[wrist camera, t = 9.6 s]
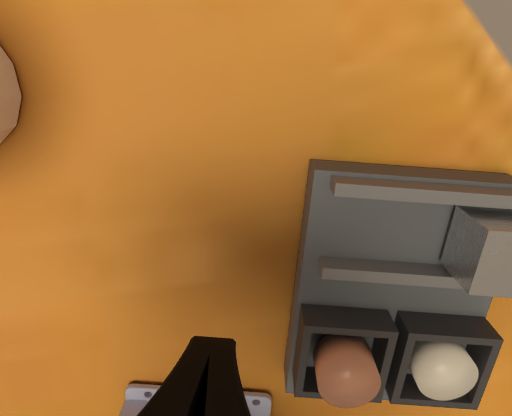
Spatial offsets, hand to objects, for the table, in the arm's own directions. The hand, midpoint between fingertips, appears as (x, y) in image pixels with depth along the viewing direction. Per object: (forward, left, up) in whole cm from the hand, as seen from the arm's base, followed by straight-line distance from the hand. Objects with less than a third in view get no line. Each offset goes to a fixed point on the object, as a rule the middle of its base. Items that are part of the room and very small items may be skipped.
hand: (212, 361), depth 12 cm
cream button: (+11, -5, -7) cm, 14 cm away
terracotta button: (+6, -5, -6) cm, 10 cm away
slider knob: (+12, +2, -7) cm, 14 cm away
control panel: (+9, -2, -9) cm, 13 cm away
